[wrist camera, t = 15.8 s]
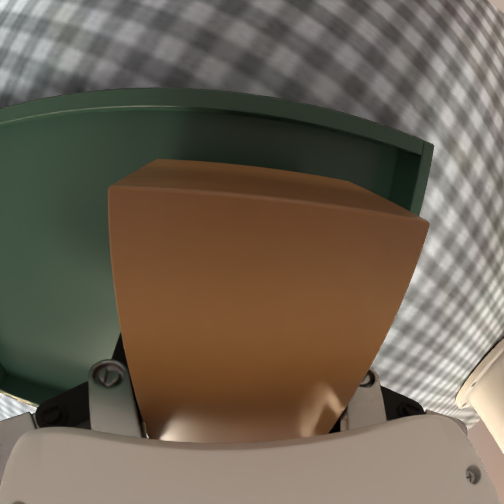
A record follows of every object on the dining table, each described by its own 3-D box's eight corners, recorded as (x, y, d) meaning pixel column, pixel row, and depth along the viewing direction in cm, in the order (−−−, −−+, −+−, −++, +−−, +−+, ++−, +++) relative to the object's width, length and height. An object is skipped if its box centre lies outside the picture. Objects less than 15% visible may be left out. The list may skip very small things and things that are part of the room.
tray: (400, 138, 10) (435, 144, 8) (313, 403, 17) (322, 430, 15) (-48, 131, 6) (-76, 138, 4) (9, 370, 13) (-3, 392, 11)
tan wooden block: (170, 150, 9) (106, 186, 3) (317, 167, 10) (431, 222, 4) (173, 399, 14) (171, 493, 8) (262, 401, 15) (282, 490, 9)
